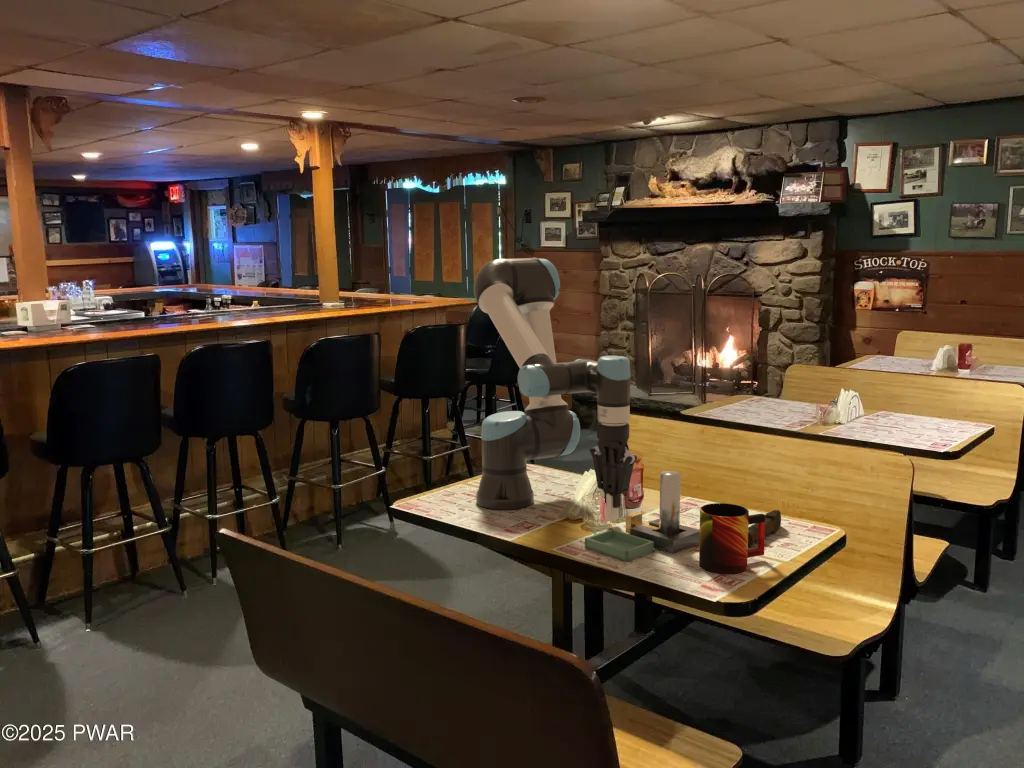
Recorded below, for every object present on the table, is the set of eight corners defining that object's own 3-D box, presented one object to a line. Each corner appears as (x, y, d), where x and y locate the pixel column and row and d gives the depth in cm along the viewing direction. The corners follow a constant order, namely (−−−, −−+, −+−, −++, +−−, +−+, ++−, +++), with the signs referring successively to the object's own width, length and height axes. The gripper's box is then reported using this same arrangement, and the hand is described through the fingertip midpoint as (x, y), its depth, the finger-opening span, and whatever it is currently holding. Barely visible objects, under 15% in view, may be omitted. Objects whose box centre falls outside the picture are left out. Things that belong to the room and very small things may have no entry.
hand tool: (750, 550, 181) (751, 530, 181) (734, 546, 184) (734, 526, 183) (791, 529, 195) (792, 510, 194) (775, 526, 197) (776, 507, 197)
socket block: (630, 541, 188) (630, 528, 187) (658, 531, 194) (658, 518, 194) (673, 554, 179) (673, 541, 178) (701, 543, 185) (701, 530, 185)
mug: (764, 559, 175) (766, 504, 173) (733, 578, 165) (734, 520, 163) (723, 549, 181) (724, 496, 180) (690, 567, 171) (691, 511, 170)
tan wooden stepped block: (625, 532, 193) (625, 515, 192) (636, 528, 195) (637, 511, 195) (651, 540, 187) (651, 522, 186) (662, 536, 190) (662, 519, 189)
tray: (584, 547, 184) (584, 538, 184) (612, 538, 190) (612, 529, 189) (626, 561, 175) (626, 551, 175) (653, 551, 181) (654, 541, 180)
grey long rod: (655, 543, 186) (656, 473, 183) (667, 538, 189) (668, 469, 186) (670, 548, 183) (672, 477, 180) (683, 543, 186) (684, 473, 183)
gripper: (581, 420, 197) (581, 516, 201) (624, 429, 187) (622, 530, 191) (603, 416, 202) (602, 510, 206) (645, 424, 192) (643, 522, 196)
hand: (612, 519), depth 198 cm, fingers closed
